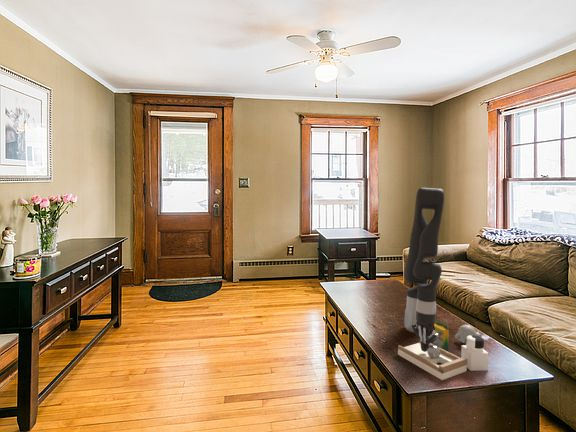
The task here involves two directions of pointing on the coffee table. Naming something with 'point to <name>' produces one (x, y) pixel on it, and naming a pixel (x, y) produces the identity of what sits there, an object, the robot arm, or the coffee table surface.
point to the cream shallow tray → (434, 361)
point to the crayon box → (442, 336)
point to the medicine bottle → (475, 353)
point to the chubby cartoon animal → (466, 333)
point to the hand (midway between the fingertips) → (424, 350)
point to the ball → (433, 351)
